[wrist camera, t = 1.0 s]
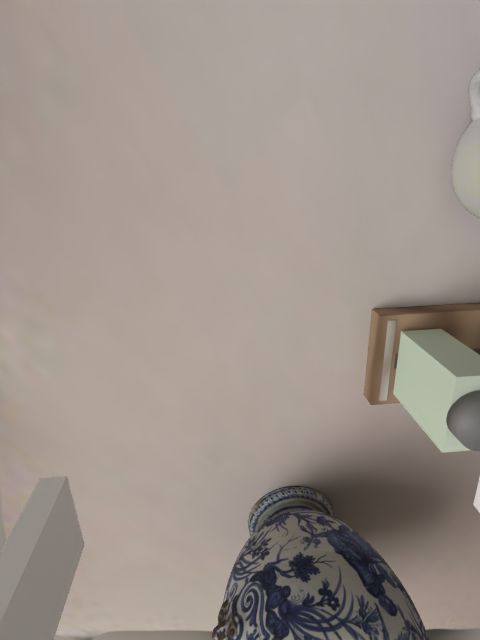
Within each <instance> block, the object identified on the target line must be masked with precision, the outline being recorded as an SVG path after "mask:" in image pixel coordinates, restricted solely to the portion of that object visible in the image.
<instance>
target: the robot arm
mask: <svg viewBox="0 0 480 640" xmlns="http://www.w3.org/2000/svg"><path fill="white" fill-rule="evenodd" d="M473 505H474V506H475V507H476V509H477V510H478V511H479V512H480V478H479V482H478V487H477V491H476V495H475V500H474V504H473ZM83 547H84V541H83V537H82V533H81V529H80V525H79V521H78V517H77V513H76V510H75V506H74V502H73V498H72V494H71V490H70V486H69V482H68V478H67V476H63V477H52V478H41V479H40V480H39V482H38V483H37V485H36V487H35V489H34V491H33V493H32V495H31V496H30V498H29V500H28V502H27V504H26V506H25V508H24V509H23V511H22V513H21V515H20V517H19V519H18V521H17V522H16V524H15V526H14V528H13V530H12V532H11V534H10V536H9V537H8V539H7V541H6V543H5V545H4V547H3V549H2V550H1V552H0V640H53V639H54V636H55V633H56V630H57V627H58V624H59V621H60V618H61V614H62V611H63V608H64V605H65V602H66V599H67V596H68V593H69V590H70V587H71V584H72V581H73V578H74V575H75V571H76V568H77V565H78V562H79V559H80V556H81V553H82V550H83Z"/></svg>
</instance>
